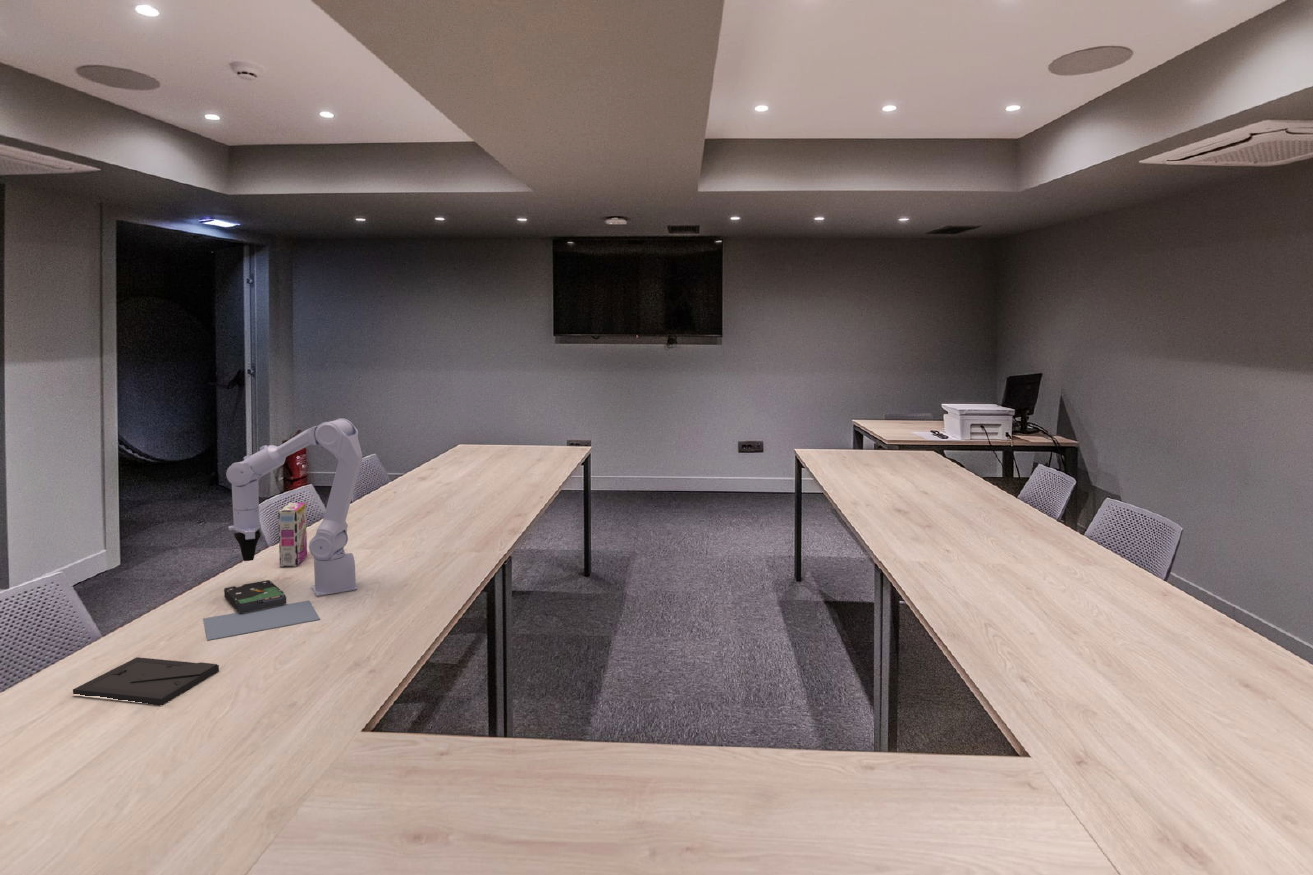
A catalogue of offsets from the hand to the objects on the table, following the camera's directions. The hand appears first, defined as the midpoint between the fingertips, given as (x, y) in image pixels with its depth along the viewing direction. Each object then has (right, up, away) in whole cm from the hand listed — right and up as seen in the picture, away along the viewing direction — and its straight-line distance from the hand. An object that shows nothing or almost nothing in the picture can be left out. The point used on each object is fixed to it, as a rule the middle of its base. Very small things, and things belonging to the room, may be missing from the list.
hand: (248, 560), depth 180 cm
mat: (+14, -10, -18) cm, 25 cm away
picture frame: (+10, -15, -49) cm, 52 cm away
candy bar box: (-1, -5, +24) cm, 24 cm away
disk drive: (+6, -9, -8) cm, 13 cm away
